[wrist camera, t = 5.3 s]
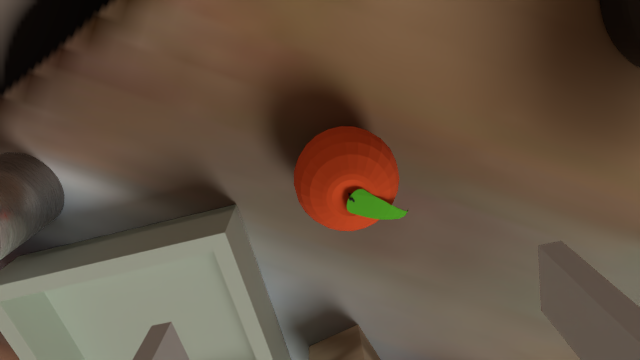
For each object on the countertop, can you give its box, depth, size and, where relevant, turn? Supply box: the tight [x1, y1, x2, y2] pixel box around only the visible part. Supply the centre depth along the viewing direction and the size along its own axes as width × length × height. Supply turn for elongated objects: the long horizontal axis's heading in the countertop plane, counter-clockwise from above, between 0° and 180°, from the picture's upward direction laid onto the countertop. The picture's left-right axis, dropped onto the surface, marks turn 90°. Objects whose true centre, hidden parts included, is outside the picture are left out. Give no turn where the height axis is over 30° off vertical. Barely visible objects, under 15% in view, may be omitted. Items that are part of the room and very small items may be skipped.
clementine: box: [294, 126, 408, 231], centre depth 26 cm, size 8×7×7 cm
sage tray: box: [0, 204, 291, 360], centre depth 31 cm, size 18×18×4 cm
